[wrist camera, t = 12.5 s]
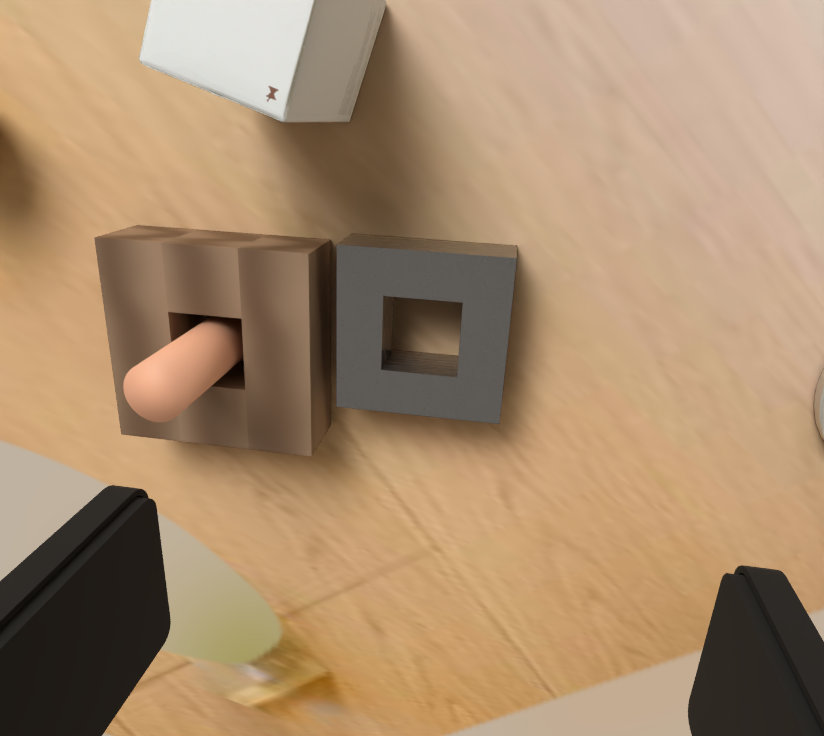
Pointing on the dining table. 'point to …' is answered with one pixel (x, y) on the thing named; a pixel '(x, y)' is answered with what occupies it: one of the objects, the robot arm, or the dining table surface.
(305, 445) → the socket block
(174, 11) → the supplement box
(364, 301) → the pin mount
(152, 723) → the dining table surface
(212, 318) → the pin
